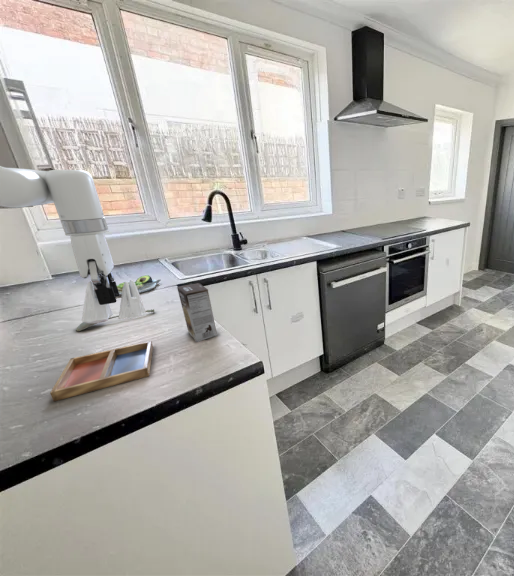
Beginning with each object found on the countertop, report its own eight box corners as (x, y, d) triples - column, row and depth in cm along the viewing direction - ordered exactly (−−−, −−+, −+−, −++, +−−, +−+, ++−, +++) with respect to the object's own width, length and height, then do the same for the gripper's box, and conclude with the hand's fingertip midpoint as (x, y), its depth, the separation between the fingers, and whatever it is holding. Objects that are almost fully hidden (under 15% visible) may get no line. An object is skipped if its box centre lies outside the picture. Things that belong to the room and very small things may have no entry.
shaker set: (84, 329, 74) (68, 286, 71) (87, 323, 78) (71, 281, 74) (145, 316, 81) (133, 276, 77) (145, 311, 84) (134, 272, 80)
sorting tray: (53, 401, 70) (49, 392, 69) (73, 366, 84) (70, 358, 83) (149, 376, 79) (146, 368, 78) (153, 347, 93) (151, 340, 92)
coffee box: (187, 332, 101) (176, 286, 96) (208, 326, 106) (199, 282, 100) (196, 342, 95) (184, 293, 90) (218, 335, 100) (208, 288, 94)
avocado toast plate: (156, 293, 136) (153, 283, 135) (104, 300, 129) (101, 290, 127) (163, 281, 153) (160, 272, 151) (117, 286, 145) (114, 277, 144)
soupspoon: (78, 328, 106) (76, 336, 102) (74, 319, 105) (72, 327, 100) (154, 309, 119) (156, 315, 114) (152, 301, 118) (153, 307, 113)
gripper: (73, 224, 76) (97, 293, 82) (51, 233, 63) (81, 315, 69) (112, 221, 80) (132, 288, 86) (99, 230, 66) (124, 308, 72)
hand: (109, 299), depth 77 cm, fingers closed on shaker set, 4 cm apart
